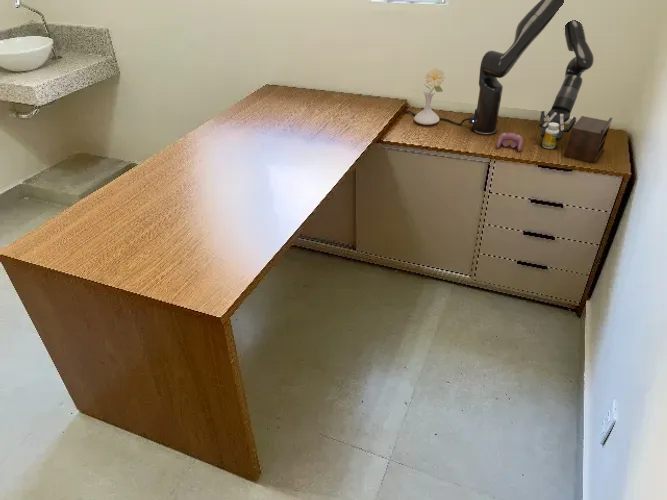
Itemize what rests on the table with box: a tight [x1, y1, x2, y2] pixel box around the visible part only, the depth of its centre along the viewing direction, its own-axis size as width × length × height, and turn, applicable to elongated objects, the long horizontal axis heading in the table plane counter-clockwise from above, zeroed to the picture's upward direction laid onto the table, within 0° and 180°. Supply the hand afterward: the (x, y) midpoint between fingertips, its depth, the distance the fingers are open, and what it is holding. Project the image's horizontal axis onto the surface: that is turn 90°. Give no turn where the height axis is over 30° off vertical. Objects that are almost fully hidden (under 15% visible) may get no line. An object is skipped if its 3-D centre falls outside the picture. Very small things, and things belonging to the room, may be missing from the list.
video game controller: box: [496, 132, 524, 153], centre depth 206 cm, size 10×5×7 cm, turn 65°
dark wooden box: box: [564, 115, 613, 164], centre depth 198 cm, size 11×14×14 cm
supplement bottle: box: [541, 122, 560, 150], centre depth 205 cm, size 5×5×10 cm
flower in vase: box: [413, 67, 446, 126], centre depth 223 cm, size 13×11×25 cm
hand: (549, 138), depth 204 cm, fingers closed on supplement bottle, 5 cm apart
